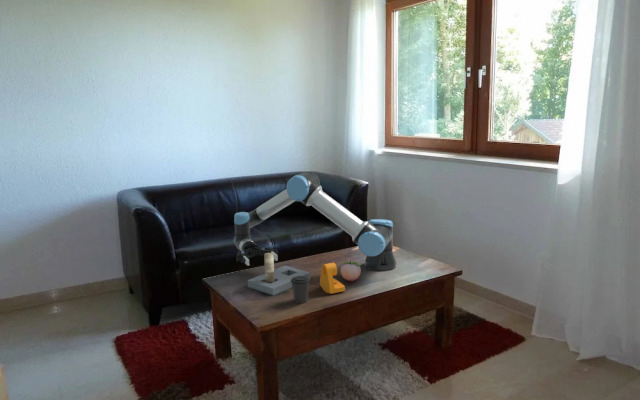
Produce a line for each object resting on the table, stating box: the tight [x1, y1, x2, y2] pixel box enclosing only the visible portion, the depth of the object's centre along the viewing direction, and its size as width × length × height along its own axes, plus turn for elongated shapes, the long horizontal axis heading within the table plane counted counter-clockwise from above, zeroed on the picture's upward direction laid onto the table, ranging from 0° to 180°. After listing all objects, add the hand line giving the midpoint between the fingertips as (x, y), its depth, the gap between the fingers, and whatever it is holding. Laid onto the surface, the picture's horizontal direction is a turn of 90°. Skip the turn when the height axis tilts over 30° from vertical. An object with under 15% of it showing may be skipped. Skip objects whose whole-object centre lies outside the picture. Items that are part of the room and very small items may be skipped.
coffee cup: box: [291, 276, 311, 304], centre depth 197 cm, size 8×8×10 cm
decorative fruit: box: [339, 259, 362, 283], centre depth 216 cm, size 9×8×10 cm
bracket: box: [319, 262, 346, 295], centre depth 208 cm, size 11×7×12 cm, turn 24°
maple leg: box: [263, 253, 275, 283], centre depth 212 cm, size 4×4×15 cm
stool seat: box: [247, 265, 312, 296], centre depth 218 cm, size 24×16×3 cm, turn 140°
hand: (262, 260), depth 219 cm, fingers open, 13 cm apart
